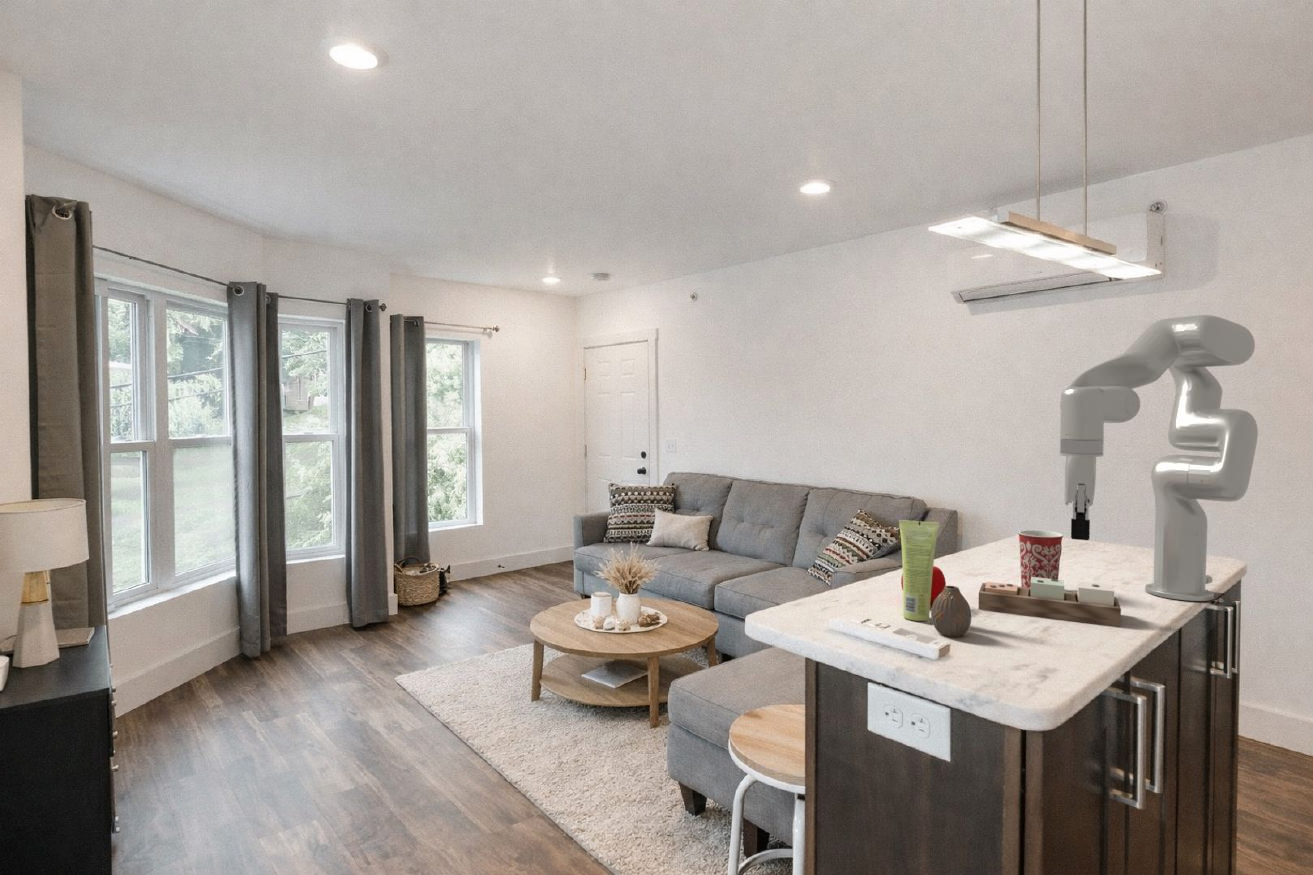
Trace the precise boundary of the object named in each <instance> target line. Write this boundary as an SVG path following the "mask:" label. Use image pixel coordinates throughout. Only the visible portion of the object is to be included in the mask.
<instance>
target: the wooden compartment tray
mask: <svg viewBox="0 0 1313 875" xmlns="http://www.w3.org/2000/svg"><path fill="white" fill-rule="evenodd" d="M986 583H987V582H982V583H981V586H980V588H979V591H978V605H977V606H978V610H982V611H983V610H984V611H991V612H997V613H1004V614H1015V615H1023V616H1029V617H1038V618H1047V619H1056V620H1063V621H1069V622H1071V621H1072V622H1078V623H1087V624H1095V625H1104V626H1112V627H1119V628H1121V622H1122V621H1121V620H1122V619H1121V618H1122V608H1121V605H1120V603H1119V600H1118V597H1117V596H1114V606H1109V605H1100V604H1091V603H1082V602H1078V597H1077V592H1071V591H1065V590H1064V600H1055V599H1046V598H1038V597H1030V588H1027V587H1021V586H1018V595H1011V594H1002V593H993V592H985V586H986Z"/></svg>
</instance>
